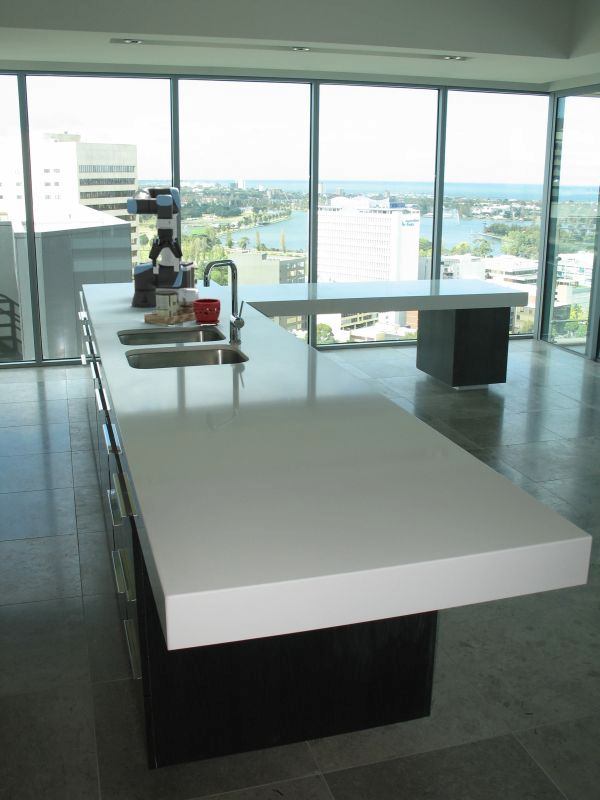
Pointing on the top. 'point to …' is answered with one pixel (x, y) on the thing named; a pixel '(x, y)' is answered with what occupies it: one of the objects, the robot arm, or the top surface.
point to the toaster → (187, 277)
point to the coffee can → (166, 303)
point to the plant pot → (206, 311)
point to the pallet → (168, 318)
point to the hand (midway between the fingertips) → (166, 272)
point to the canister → (187, 299)
